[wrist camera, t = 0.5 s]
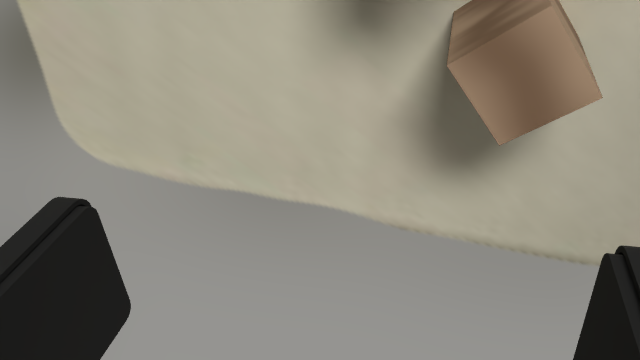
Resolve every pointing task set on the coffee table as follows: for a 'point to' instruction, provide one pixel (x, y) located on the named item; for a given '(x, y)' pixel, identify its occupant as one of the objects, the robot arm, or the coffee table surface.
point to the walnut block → (519, 64)
